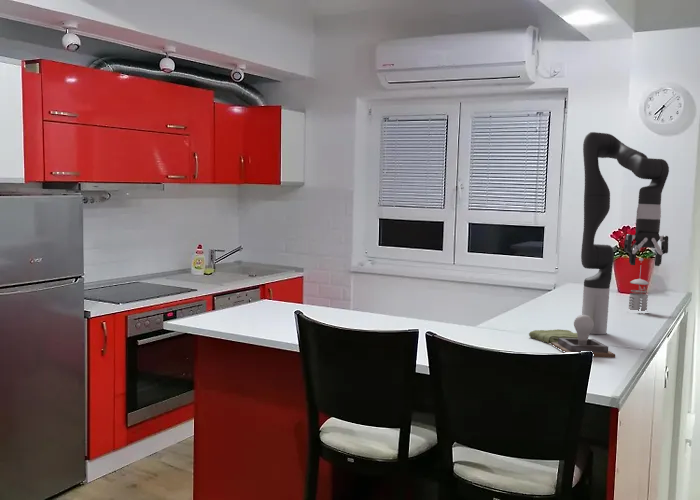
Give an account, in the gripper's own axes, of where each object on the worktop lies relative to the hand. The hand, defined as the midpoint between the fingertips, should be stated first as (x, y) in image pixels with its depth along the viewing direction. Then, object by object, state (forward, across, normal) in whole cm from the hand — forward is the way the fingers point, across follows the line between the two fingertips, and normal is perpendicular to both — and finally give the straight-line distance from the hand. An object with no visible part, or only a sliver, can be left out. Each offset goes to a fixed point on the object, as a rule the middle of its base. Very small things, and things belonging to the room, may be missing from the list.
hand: (644, 265), depth 235 cm
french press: (+28, -37, -77) cm, 90 cm away
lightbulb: (+27, +24, +10) cm, 38 cm away
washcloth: (+29, +25, -8) cm, 39 cm away
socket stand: (+28, +24, +10) cm, 38 cm away
